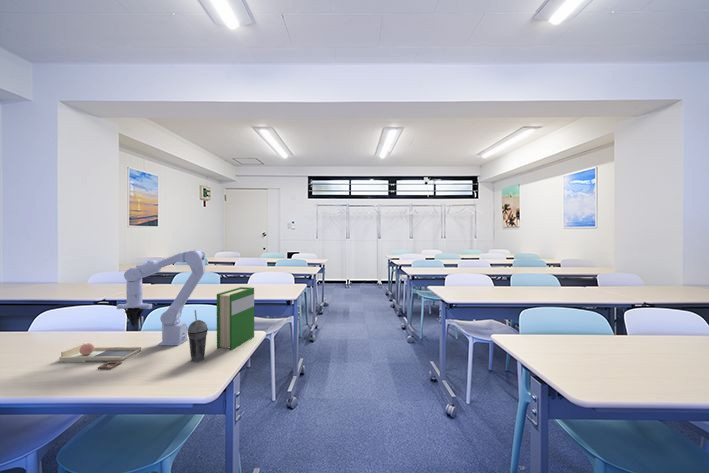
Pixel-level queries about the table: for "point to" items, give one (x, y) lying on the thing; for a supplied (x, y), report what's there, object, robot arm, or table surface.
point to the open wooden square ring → (105, 366)
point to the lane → (99, 354)
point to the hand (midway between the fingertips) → (134, 324)
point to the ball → (87, 349)
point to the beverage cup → (197, 339)
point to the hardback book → (235, 317)
